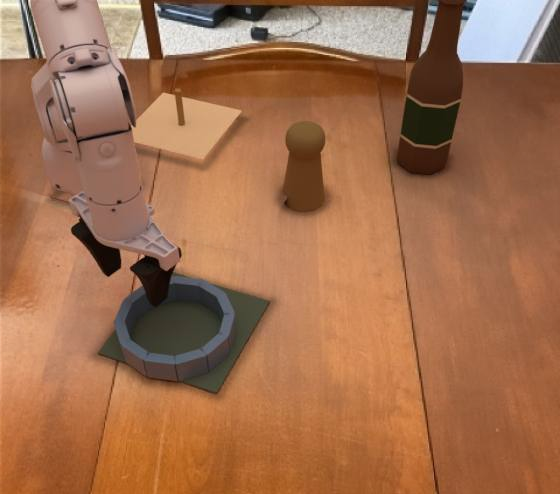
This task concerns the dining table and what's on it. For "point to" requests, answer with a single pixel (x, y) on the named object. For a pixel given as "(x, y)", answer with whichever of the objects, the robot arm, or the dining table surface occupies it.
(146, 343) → the mat
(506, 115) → the dining table surface
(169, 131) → the stand
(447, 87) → the beer bottle
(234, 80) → the dining table surface
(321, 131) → the brown pawn
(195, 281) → the ring
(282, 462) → the dining table surface
